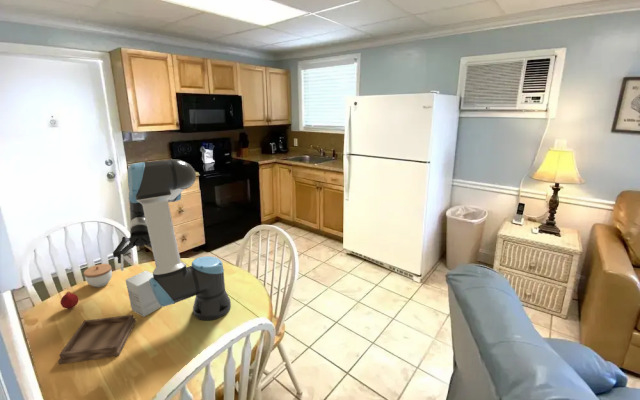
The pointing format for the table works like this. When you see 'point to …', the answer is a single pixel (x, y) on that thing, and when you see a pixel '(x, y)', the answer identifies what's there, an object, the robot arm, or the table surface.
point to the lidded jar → (98, 275)
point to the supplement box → (142, 294)
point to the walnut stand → (98, 339)
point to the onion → (69, 300)
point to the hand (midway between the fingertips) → (140, 266)
